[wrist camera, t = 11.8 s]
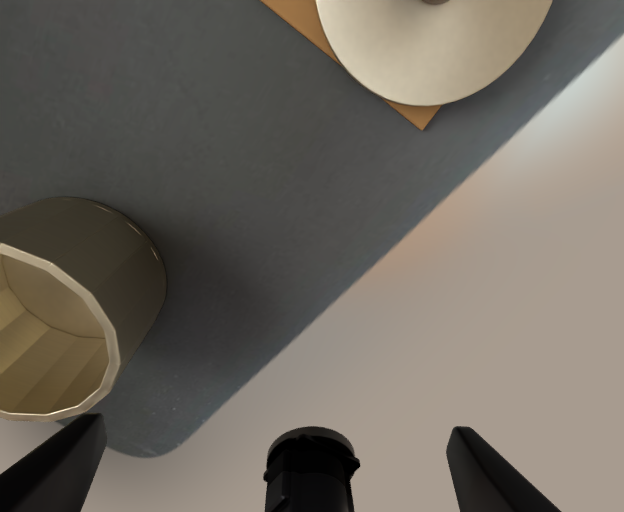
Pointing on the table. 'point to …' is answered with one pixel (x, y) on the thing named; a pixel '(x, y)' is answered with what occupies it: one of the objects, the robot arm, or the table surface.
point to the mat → (303, 17)
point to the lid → (428, 44)
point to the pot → (71, 305)
